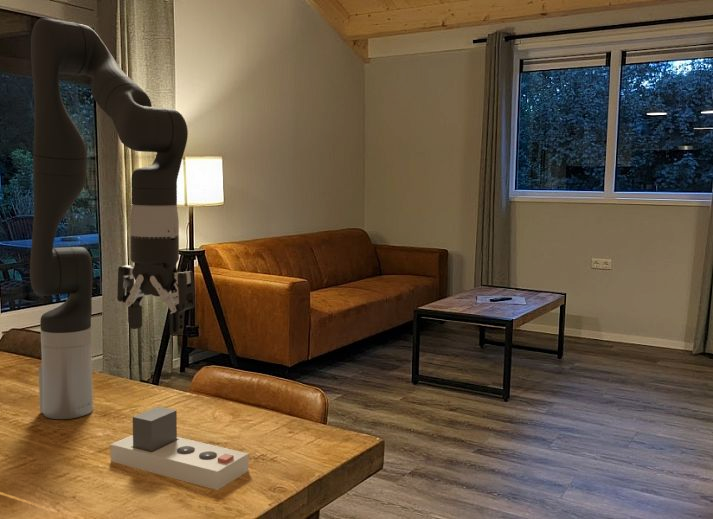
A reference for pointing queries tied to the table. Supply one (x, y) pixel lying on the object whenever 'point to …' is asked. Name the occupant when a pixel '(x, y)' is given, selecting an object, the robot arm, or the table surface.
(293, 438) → the table surface
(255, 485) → the table surface
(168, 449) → the power strip
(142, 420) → the charcoal plug
